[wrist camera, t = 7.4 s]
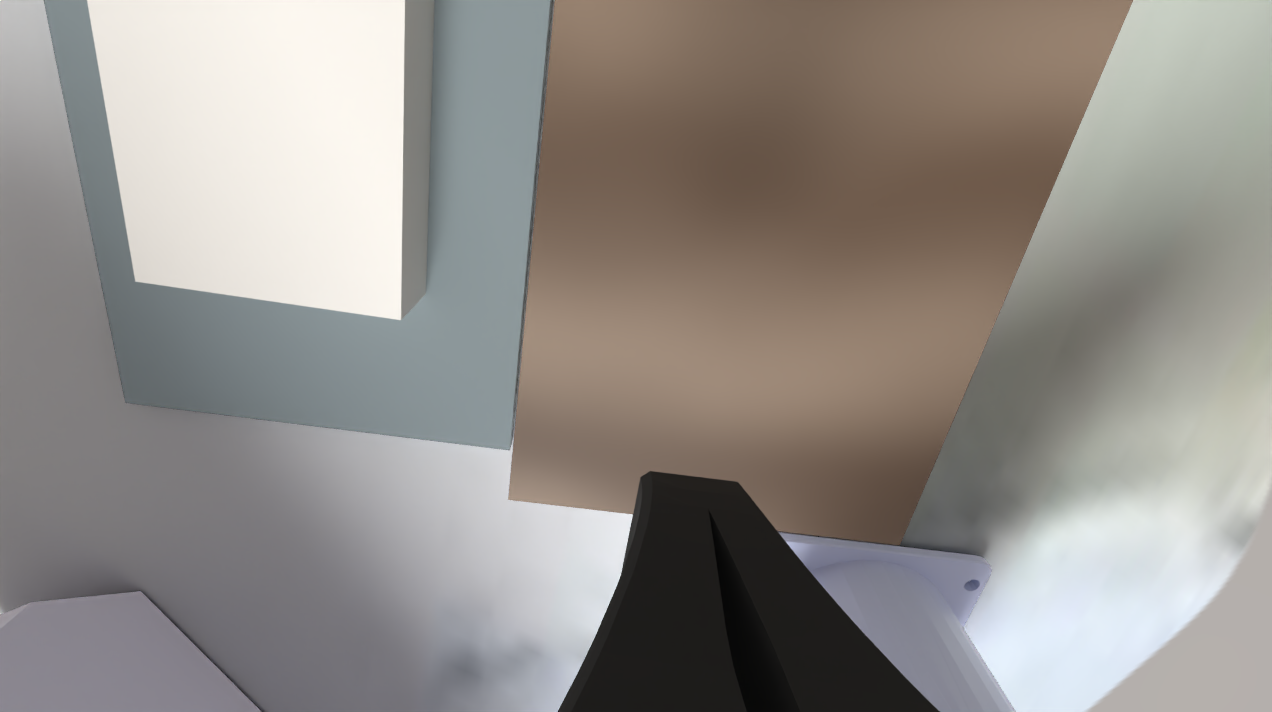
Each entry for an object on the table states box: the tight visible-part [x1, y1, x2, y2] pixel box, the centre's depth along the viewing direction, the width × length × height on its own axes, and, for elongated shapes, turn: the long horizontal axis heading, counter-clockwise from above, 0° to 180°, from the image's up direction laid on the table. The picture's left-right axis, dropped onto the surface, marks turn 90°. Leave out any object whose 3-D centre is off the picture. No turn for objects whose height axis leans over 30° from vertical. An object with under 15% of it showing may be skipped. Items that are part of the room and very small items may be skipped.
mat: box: [44, 0, 552, 450], centre depth 14 cm, size 18×11×1 cm, turn 171°
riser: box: [508, 0, 1133, 545], centre depth 14 cm, size 16×10×4 cm, turn 171°
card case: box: [87, 0, 434, 320], centre depth 13 cm, size 9×6×2 cm, turn 170°
